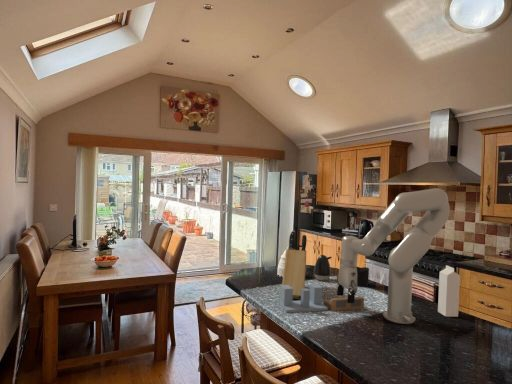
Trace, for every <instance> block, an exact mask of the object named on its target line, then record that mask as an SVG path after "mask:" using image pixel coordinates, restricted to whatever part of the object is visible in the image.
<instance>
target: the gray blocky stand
mask: <svg viewBox="0 0 512 384" xmlns="http://www.w3.org/2000/svg"><path fill="white" fill-rule="evenodd" d="M279 294H280V295H279V301H278V305H279V306H280V307H281V309H282V310H284V311H285V313H286V314H287V313H288V314H289V313H301V312H302V313H304V312H321V311H328V309H329V308H328V307H327V306H326V305H325V304H324V302H323V286H321V285H320V284H318V283H309V285H308V288H304V289H301V300H299V299H297V300H294V299H293V288H292V287H290V286H289V285H282V284H281V285H280V292H279Z"/></svg>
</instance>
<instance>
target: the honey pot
mask: <svg viewBox="0 0 512 384" xmlns="http://www.w3.org/2000/svg"><path fill="white" fill-rule="evenodd" d="M288 247H289V246H287V247H286V249H284V251H283V253H282V254H281V255H280V258H279V262H278V265H277V271H276V275H277V276H278V275H279V276H278V277H281V276H282V278H283V273H284V264H285V256H286V250H287V249H288Z"/></svg>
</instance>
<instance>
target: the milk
mask: <svg viewBox="0 0 512 384" xmlns="http://www.w3.org/2000/svg"><path fill="white" fill-rule="evenodd" d="M438 277H439V278H438V302H437V303H438V304H437V313H439V314H441V315H443V316H444V317H451V318H452V317H454V318H455V317H457V318H458V317H459V305H460V288H461V287H460V286H461V285H460V284H461V282H460V281H461V275H460V274H458V273H457V272H456V271H455V267H452V266H450V265H445V268H443V269H441V271H439V276H438Z"/></svg>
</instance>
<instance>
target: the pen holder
mask: <svg viewBox="0 0 512 384" xmlns="http://www.w3.org/2000/svg"><path fill="white" fill-rule="evenodd" d="M356 268H357V287H358V288H359V287H361V288H366V287H368V285H369V275H370V268H369V267H367V266H363V267H360V266H357V267H356Z"/></svg>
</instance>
